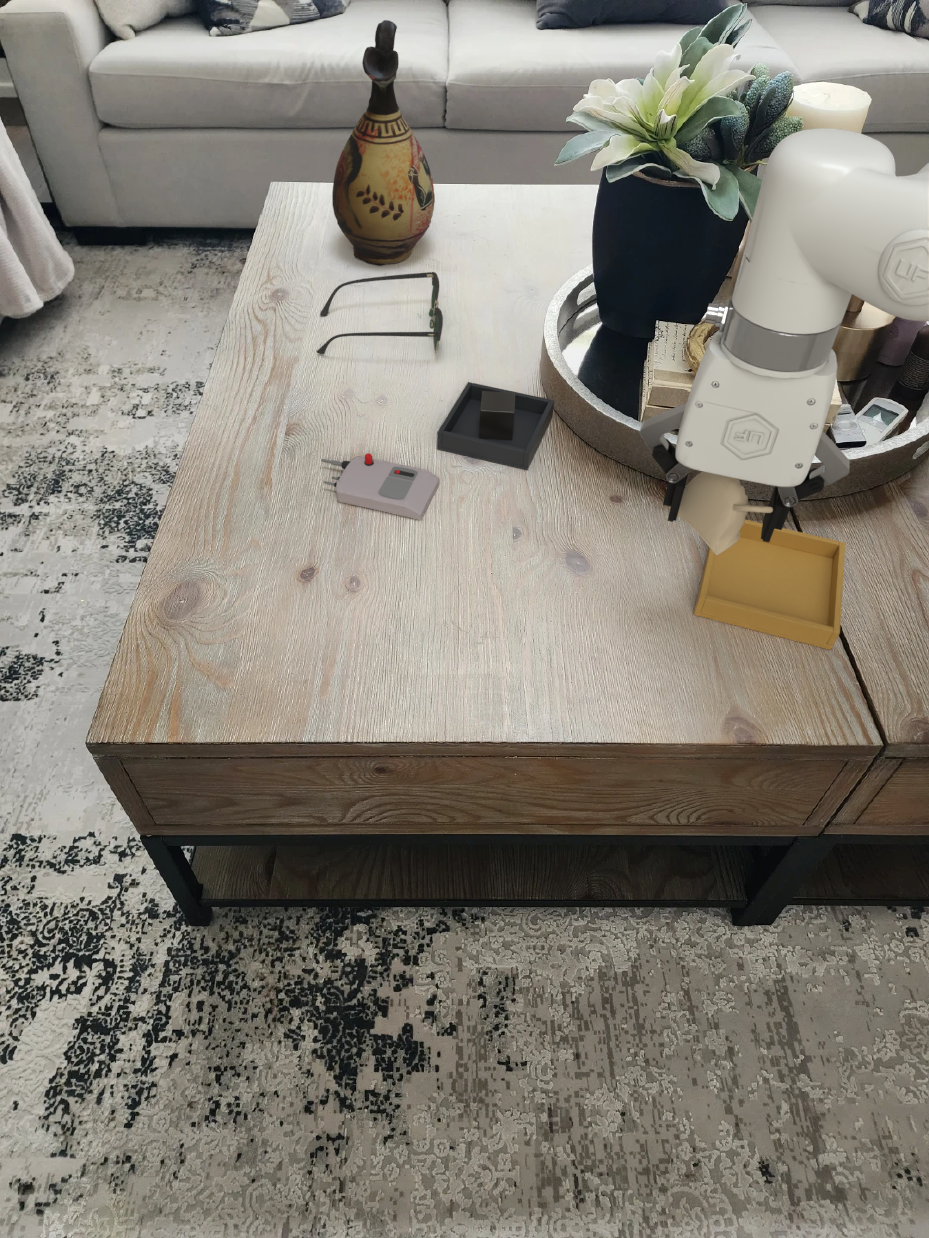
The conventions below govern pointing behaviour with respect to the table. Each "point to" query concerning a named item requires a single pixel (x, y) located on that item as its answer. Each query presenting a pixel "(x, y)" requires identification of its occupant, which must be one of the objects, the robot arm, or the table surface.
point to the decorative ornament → (716, 509)
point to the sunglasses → (433, 324)
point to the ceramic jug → (383, 169)
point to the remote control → (385, 486)
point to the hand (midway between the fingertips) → (719, 520)
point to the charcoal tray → (519, 452)
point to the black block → (497, 415)
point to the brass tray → (776, 585)
